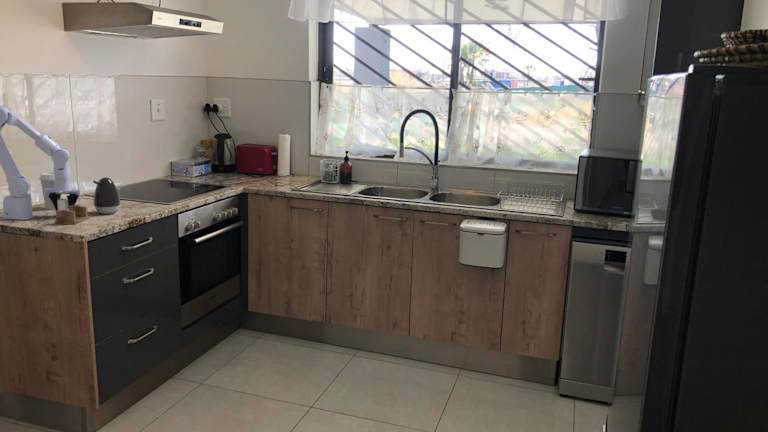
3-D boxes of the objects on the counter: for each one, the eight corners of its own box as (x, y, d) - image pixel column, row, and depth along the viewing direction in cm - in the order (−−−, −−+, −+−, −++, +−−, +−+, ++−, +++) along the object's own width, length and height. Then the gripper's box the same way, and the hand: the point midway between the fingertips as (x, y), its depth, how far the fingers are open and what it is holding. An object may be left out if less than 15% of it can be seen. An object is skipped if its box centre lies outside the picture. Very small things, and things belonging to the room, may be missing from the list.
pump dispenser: (88, 213, 252) (86, 177, 249) (111, 209, 261) (109, 174, 257) (102, 216, 247) (100, 180, 244) (125, 212, 255) (123, 177, 252)
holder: (54, 223, 233) (53, 209, 231) (70, 217, 243) (69, 203, 242) (75, 224, 232) (74, 210, 231) (89, 218, 243) (88, 204, 242)
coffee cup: (71, 208, 260) (68, 173, 257) (49, 211, 252) (46, 176, 249) (58, 205, 265) (55, 171, 261) (36, 208, 256) (33, 173, 253)
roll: (55, 217, 243) (54, 200, 241) (62, 214, 248) (61, 197, 246) (68, 217, 243) (66, 200, 241) (74, 215, 248) (73, 198, 246)
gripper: (38, 179, 238) (41, 212, 241) (75, 180, 238) (77, 214, 241) (49, 176, 245) (51, 209, 248) (84, 178, 245) (86, 210, 248)
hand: (65, 211), depth 245 cm, fingers closed on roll, 5 cm apart
